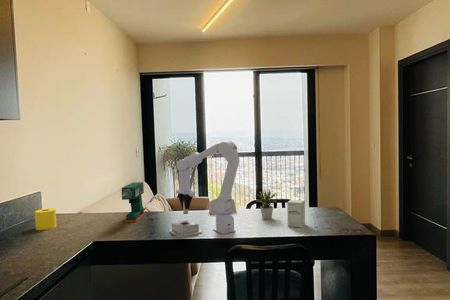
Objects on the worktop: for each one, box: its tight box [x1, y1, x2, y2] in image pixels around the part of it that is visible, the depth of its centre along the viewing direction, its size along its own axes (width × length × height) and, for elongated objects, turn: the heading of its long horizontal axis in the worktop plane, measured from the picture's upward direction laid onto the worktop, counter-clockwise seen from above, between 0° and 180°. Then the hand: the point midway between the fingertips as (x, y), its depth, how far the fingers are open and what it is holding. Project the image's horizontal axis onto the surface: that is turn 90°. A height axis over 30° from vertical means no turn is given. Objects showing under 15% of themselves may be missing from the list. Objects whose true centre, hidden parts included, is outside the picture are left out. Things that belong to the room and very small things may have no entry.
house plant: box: [255, 188, 280, 220], centre depth 193 cm, size 14×14×16 cm
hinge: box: [208, 198, 238, 215], centre depth 212 cm, size 17×5×10 cm, turn 99°
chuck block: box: [168, 219, 203, 238], centre depth 170 cm, size 12×12×4 cm
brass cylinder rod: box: [182, 200, 189, 215], centre depth 179 cm, size 2×2×8 cm
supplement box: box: [287, 199, 306, 228], centre depth 177 cm, size 7×7×13 cm
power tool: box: [121, 181, 146, 223], centre depth 197 cm, size 32×7×20 cm, turn 179°
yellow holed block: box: [34, 207, 57, 231], centre depth 189 cm, size 10×10×9 cm
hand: (185, 208), depth 179 cm, fingers closed on brass cylinder rod, 2 cm apart
